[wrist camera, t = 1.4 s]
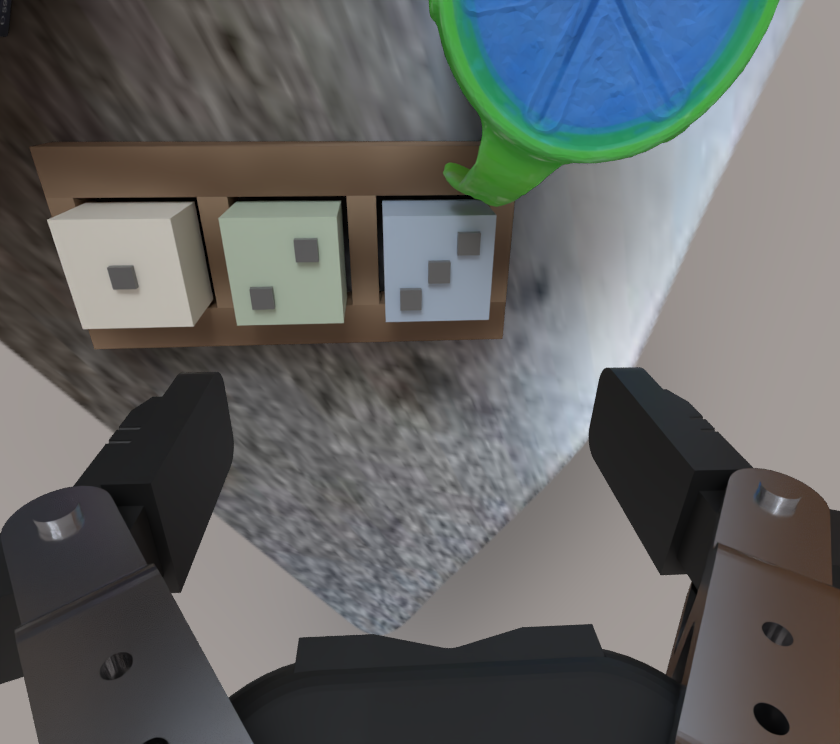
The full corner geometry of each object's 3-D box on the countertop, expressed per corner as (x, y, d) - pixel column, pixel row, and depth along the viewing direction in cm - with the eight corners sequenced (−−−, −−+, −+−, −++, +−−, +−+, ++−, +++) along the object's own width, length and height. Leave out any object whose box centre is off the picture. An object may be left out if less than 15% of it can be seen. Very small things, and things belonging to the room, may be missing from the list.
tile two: (236, 201, 26) (216, 219, 23) (341, 200, 26) (335, 218, 23) (252, 298, 28) (235, 328, 25) (347, 296, 29) (343, 325, 25)
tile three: (381, 199, 26) (383, 217, 23) (482, 199, 27) (497, 216, 23) (384, 295, 29) (385, 324, 25) (477, 293, 29) (489, 322, 26)
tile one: (86, 202, 25) (43, 221, 22) (194, 201, 26) (167, 220, 22) (115, 301, 28) (79, 331, 25) (213, 299, 28) (191, 329, 25)
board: (52, 141, 25) (29, 146, 24) (510, 141, 27) (519, 145, 25) (111, 333, 30) (94, 349, 29) (495, 324, 32) (502, 338, 30)
